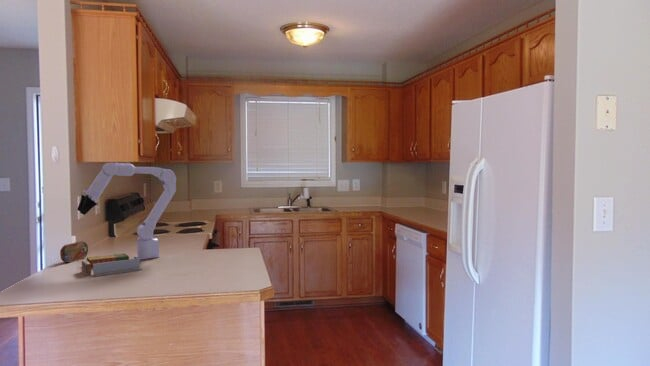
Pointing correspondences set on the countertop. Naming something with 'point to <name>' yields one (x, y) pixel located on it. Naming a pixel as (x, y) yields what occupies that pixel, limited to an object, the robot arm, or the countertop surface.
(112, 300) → the countertop surface
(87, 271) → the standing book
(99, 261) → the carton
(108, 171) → the robot arm
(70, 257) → the tin
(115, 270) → the grey long block
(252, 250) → the countertop surface
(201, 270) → the countertop surface
